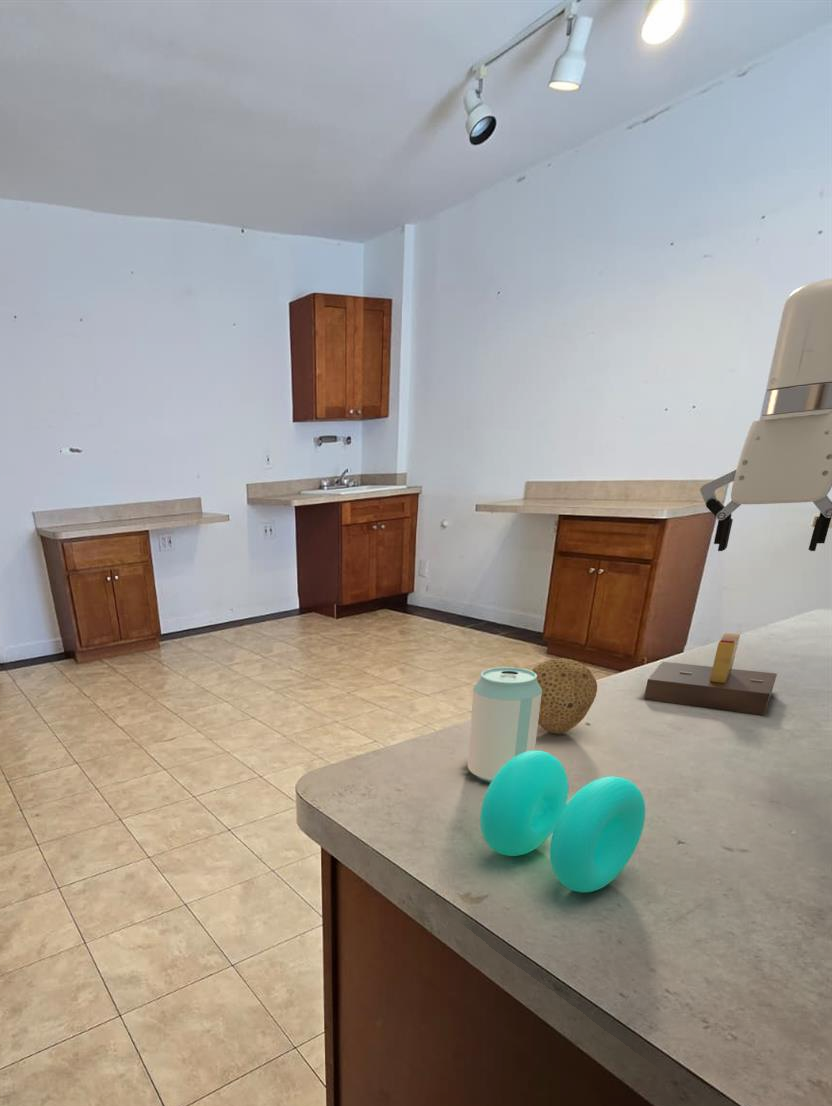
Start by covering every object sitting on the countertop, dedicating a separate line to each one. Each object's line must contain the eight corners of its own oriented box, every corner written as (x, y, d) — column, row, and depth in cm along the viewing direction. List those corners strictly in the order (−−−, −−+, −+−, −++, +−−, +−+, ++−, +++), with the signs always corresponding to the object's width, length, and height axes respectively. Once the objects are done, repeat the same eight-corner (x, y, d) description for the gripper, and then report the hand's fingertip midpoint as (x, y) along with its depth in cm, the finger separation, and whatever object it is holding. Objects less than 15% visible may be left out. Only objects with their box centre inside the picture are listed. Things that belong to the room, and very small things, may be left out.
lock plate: (771, 693, 90) (777, 672, 89) (764, 715, 84) (770, 692, 82) (658, 680, 99) (662, 660, 98) (643, 699, 92) (647, 678, 91)
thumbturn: (715, 670, 92) (725, 631, 89) (730, 672, 91) (740, 632, 88) (709, 681, 88) (719, 640, 86) (725, 683, 87) (735, 641, 85)
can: (456, 765, 77) (462, 669, 72) (509, 757, 78) (519, 661, 73) (487, 790, 70) (496, 687, 65) (544, 781, 72) (558, 678, 67)
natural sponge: (522, 746, 80) (531, 670, 76) (506, 721, 88) (513, 651, 84) (599, 745, 79) (612, 667, 75) (575, 719, 87) (585, 648, 83)
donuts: (538, 827, 63) (550, 733, 59) (640, 872, 55) (662, 768, 51) (469, 862, 58) (477, 764, 54) (569, 917, 51) (588, 807, 46)
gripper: (895, 394, 75) (851, 545, 83) (719, 413, 86) (693, 546, 93) (898, 392, 70) (851, 554, 77) (710, 413, 81) (684, 553, 88)
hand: (765, 549), depth 85 cm, fingers open, 9 cm apart
